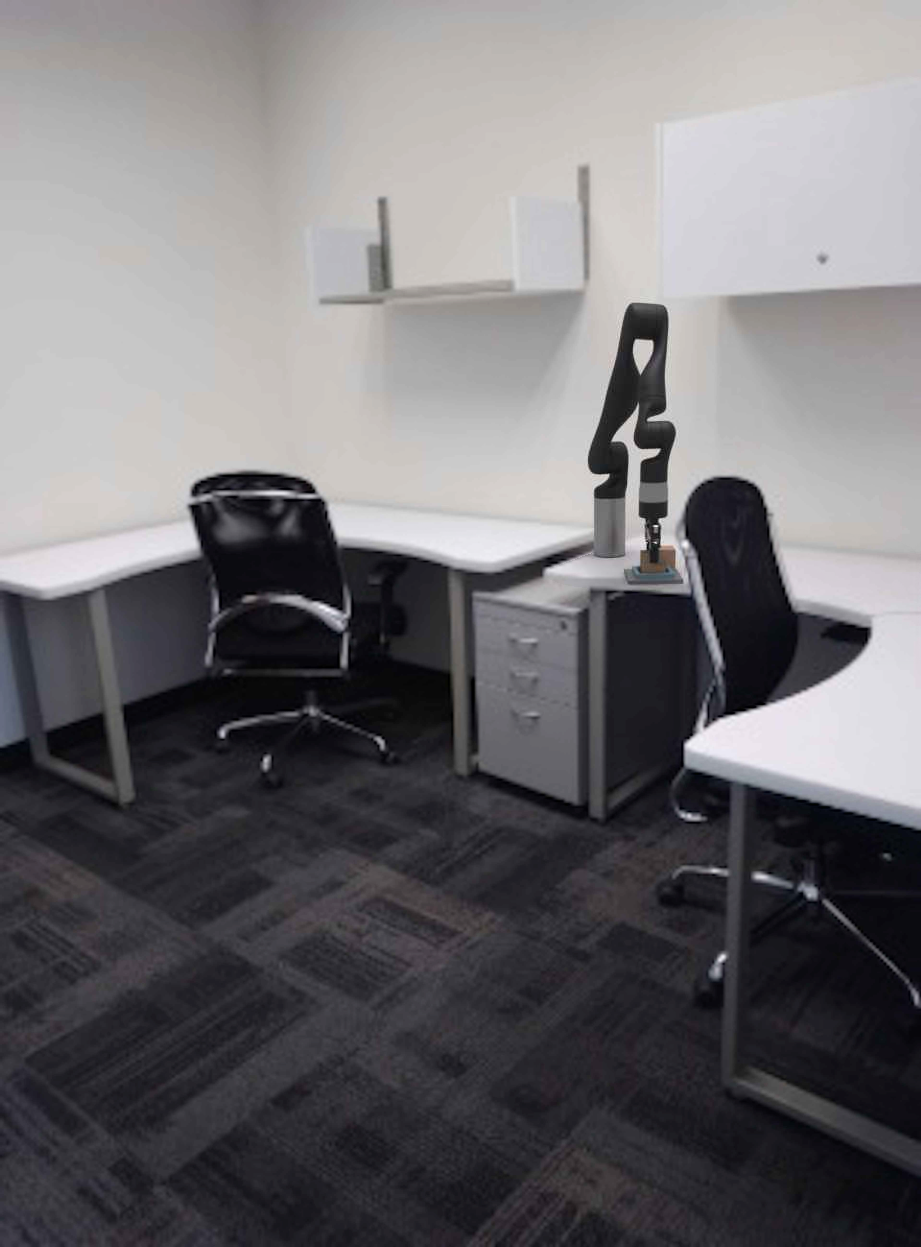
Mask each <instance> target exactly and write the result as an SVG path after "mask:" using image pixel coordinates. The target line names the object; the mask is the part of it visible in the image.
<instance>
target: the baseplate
mask: <svg viewBox="0 0 921 1247" xmlns="http://www.w3.org/2000/svg"><path fill="white" fill-rule="evenodd" d="M623 574H624V577H625V579H626V581H627V584H628V585H663V584H666V585H667V584H684V578H683V577H682V575H681V574H680V572H679V571H678V569H677V567H675V568H671V567H670V566H669V565H666V573H640V565H632V566H631V568H623Z"/></svg>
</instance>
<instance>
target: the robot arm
mask: <svg viewBox="0 0 921 1247" xmlns="http://www.w3.org/2000/svg"><path fill="white" fill-rule="evenodd" d="M669 321H670V320H669V312H668V309H667V307H666V306H665V305H664V304H659V303H648V302H647V303H646V302H631V303H629V304H628V305H627V307H626V309H625V312H624V315H623V318H622V323H621V329H620V335H619V341H618V346H617V351H616V357H615V361H614V364H613V367H612V368H613V369H612V371H611V376H610V378H609V382H608V386H607V389H606V394H605V398H604V403H603V407H602V410H601V411H602V412H601V415H600V418H599V421H598V425H597V427H596V430H595V433H594V436H593V438H592V440H591V444H590V446H589V450H588V454H587V467H588V469H589V471H590V473H591V474H593V475H601V476H603V475H609V476H608V478H607V479H606V480H605V481H604V482H602V483H601V484H599V485H597V486H596V487H595V488H594V490H593V554H594V556H596V557H602V558H617V557H622V556H625V555H626V496H627V495H626V493H627V489H628V481H629V480H628V479H629V476H628V475H629V462H630V460H629V459H630V458H629V457H630V456H629V449H628V447H627V444H625V442H623V441H620V440H619V441H617V440H616V441H613V438H614V437H615V436H616V433H617V432H618V431H619V429H620V428H622V426H623V425H624V424H625V423H626V422H627V421H628V420H629V419H630V418H631V417H632V416H633V414H634V413H635V411H636V410H637V407H638V413H637V420H636V423H635V427H634V432H633V436H632V438H633V442H634V445H635V447H637V448H638V449H639V450H659V452H658V453H657V454H656V455H654V456H652V457H648V458H644V459H642V460H641V462H640V466H639V487H638V488H639V489H638V517H640V518H641V519H644V521H645V522H644V525H643V526H644V540H645V543H646V544H645V546H646V547H645V548H646V549H645V550H650V563H651V564H657V563H658V562H659V549H660V547H661V546H662V544H661V542H662V540H661V539H662V533H661V532H662V524H661V523H660V521H659V520H660V519H666V518H667V517H668V515H669V512H668V511H669V484H668V475H669V474H668V473H669V472H668V471H669V461H670V457H671V453H672V449H673V447H674V443H675V441H676V435H677V431H676V427H675V425H674V423H673V422H671V421H669V420H654V421H653V420H649V421H648V419H650V418H652V417H656V416H659V415H662V414H663V413H665V412H666V410H667V389H666V364H667V363H666V362H667V352H668V340H669V326H670V325H669ZM636 340H641V341H652V344H653V346H652V347H653V348H652V353H651V355H650V357H649V359H648V361H647V363H646V365H645V366H644V368H643V369H642V371H641V373H640V371H639V368H638V366H637V363H636V360H635V357H634V345H635V342H636Z"/></svg>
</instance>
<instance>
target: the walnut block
mask: <svg viewBox="0 0 921 1247" xmlns="http://www.w3.org/2000/svg"><path fill="white" fill-rule="evenodd" d="M639 553H640V554H639V566H640V573H666V553H665V552H664V550H659V562H658V563H657V564H651V563H650V550H646V549H640V552H639Z"/></svg>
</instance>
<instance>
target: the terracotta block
mask: <svg viewBox="0 0 921 1247" xmlns="http://www.w3.org/2000/svg"><path fill="white" fill-rule="evenodd" d="M659 550H664V552H665V553H666V565H669V566H670V567H671V568H676V548H675V547H674V546H673V545H661V547H660V549H659Z"/></svg>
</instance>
